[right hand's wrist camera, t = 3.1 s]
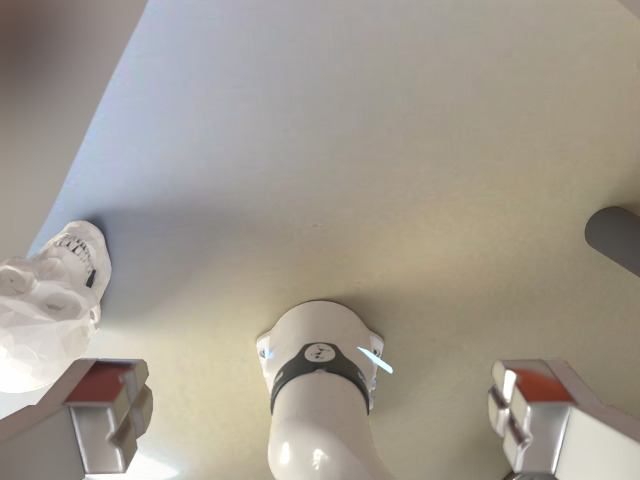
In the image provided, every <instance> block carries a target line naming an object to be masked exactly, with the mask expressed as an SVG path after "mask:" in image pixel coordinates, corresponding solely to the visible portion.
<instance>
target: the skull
mask: <svg viewBox="0 0 640 480" xmlns="http://www.w3.org/2000/svg"><path fill="white" fill-rule="evenodd" d="M74 238H75V239H74ZM78 240H79V241H80V242H78V243H77V241H78ZM70 241H71V243H70V244H69V247H68V246H67V244H68V243H69V242H70ZM82 243H83V245H82V247H81V246H80V245H81V244H82ZM76 246H79V247H77V249H76V250H75V252H74V253H73V252H72V250H73V249H74V248H75V247H76ZM84 246H85V249H84V251H82V250H83V247H84ZM81 251H82V252H81ZM80 252H81V253H80ZM79 253H80V254H79ZM86 253H87V254H86ZM76 254H77V255H78V256H77V255H76ZM83 261H84V262H83ZM93 269H95V270H96V273H95V276H94V279H93V284H92V287H91V288H89V287H87V286H86V283H87V280H88V277H90V275H91V272H92V271H93ZM111 270H112V268H111V261H110V258H109V255H108V252H107V249H106V244H105V239H104V236H103V234H102V233H101V231H100V230H99V229H98V228H97V227H96V226H94V225H93V224H91V223H89V222H86V221H81V220H78V221H71V222H70V223H68V224H67V225H66V227H65V228H64V229H63V230H62V231H61V232H60V233H59V234H57V235H56V236H54V237H53V238H52V239H51V240H50V241H49V242H48V243H47V244H46V245H45V246H44V247H43V248H42V249H41V250H40V251H39V252H38V253H37V254H35V255H34V256H33V257H31V258H30V259H28V260H26V259H23V258H21V257H18V256H15V257H12V258H10V259H8V260H6V261H3V262H1V263H0V390H1V391H4V392H11V393H19V392H26V391H32V390H36V389H39V388H42V387H44V386H47V385H49V384H50V383H52V382H54V381H55V380H57V379H58V378H60V376H61V375H62V374H63V373H64V372H65V371H66V370H67V368H68V367H69V366H70V365H71V364H72V363H73V362H74V360H77V359H80V358H81V357H82V355H83V354H84V352H85V350H86V348H87V345H88V343H89V340H90V339H91V337H92V336H93V335H94V334H95V333H96V332H97V331H98V330H99V329H100V322H101V310H100V300H101V298H102V295H103V293H104V291H105V289H106V287H107V285H108V282H109V280H110V276H111Z"/></svg>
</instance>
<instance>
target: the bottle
mask: <svg viewBox="0 0 640 480" xmlns="http://www.w3.org/2000/svg"><path fill="white" fill-rule="evenodd" d="M585 238H586V240H587V242H588V244H589V245H590V246H591V247H593V248H594V249H596V250H598V251H599V252H601V253H602V254H604V255H605V256H607V257H609V258H610V259H612V260H613V261H615V262H616V263H618V264H619V265H621V266H623V267H624V268H626V269H627V270H629V271H630V272H632V273H634V274H635V275H637V276H638V277H640V217H639V216H637V215H635V214H633V213H630V212H628V211H626V210H624V209H621V208H618V207H609V208H605V209H602V210H600V211H598V212H597V213H596V214H594V215H593V216H592V217H591V218H590V220H589V221H588V223H587V225H586V228H585Z"/></svg>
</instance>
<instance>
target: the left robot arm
mask: <svg viewBox="0 0 640 480" xmlns="http://www.w3.org/2000/svg"><path fill="white" fill-rule="evenodd" d="M504 480H558V479H557V478H556V477H555V474H524V473H514V471H512V472H511V473H510V474H509V475H508V476H507V477H506V478H505V479H504Z"/></svg>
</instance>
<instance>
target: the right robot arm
mask: <svg viewBox="0 0 640 480" xmlns="http://www.w3.org/2000/svg"><path fill="white" fill-rule="evenodd" d="M256 348H257V352H258V355H259V359H260V362H261V366H262V369H263V372H264V376H265V379H266V383H267V386H268V390H269V393H270V397H271V398H270V401H271V414H272V423H271V430H270V438H269V445H268V461H269V465H270V469H271V471H272V473H273V475H274V477H275V479H276V480H397V479H396V478H395V476H394V475H393V474H392V473H391V472H390V471H389V470H388V468H387V467H386V466H385V465H384V463H383V462H382V460H381V459H380V457H379V455H378V453H377V451H376V449H375V446H374V443H373V439H372V435H371V431H370V426H369V421H368V415H369V410H372V409H373V406H374V394H372V393H371V390H375V389H376V380H374V379H375V376H376V373H377V369H378V366H379V365H380V366H381V367H383V368H384V369H386V370H387V371H388V372H390V373H392V368H391V367H390V366H388V365H387V364H386V363H384V362H383V361H381V360H380V359H381V355H382V352H383V348H384V341H383V339H382V338H381V337H380V336H379V335H377V334H376V333H374V332H372V331H370V330H369V329H368V328H367V327H366V326H365V325H364V323H363V322H362V320H361V319H360V318H359V317H358V316H357V315H356V314H355V313H354V312H353V311H351V310H350V309H348V308H347V307H345V306H343V305H340V304H337V303H334V302H329V301H311V302H306V303H303V304H300V305H297V306H295V307H293V308H292V309H290V310H289V311H287V312H286V313H285V314H284V315H283V316H282V317H281V318H280V319H279V320H278V322H277V323H276V325H275V326H274V327H273V328H272V329H271V330H270V331H268V332H266V333H264V334H263V335H261V336H260V337H259V338H258V339H257V341H256ZM264 350H265V351H264ZM374 350H376V351H375V352H374ZM148 376H149V372H148V367H147V363H146V362H145V361H144V360H143V359H98V358H80V359H77V360H74V362H73V363H72V364H71V365H70V366H69V367H68V368H67V370H66V371H65V372H64V373H63V374H62V375H61V376H60V378H59V379H58V380H57V381H56V382H55V383H54V385H53V386H52V387H51V388H50V389H49V390H48V391H47V393H46V394H45V395H44V396H43V397H42V398H41V400H40V401H39V402H38V403H37V404H36V405H28V406H26V407H24V408H22V409H20V410H18V411H16V412H15V413H13V414H11V415H9V416H7V417H5V418H3V419H1V420H0V480H82V479H83V478H84V477H85V474H115V473H126V471H127V469H128V467H129V465H130V463H131V461H132V459H133V457H134V455H135V453H136V451H137V449H138V448H137V442H136V439H137V438H139V437H140V436H141V435H143V434H144V433H145V432H146V430H147V428H148V426H149V423H150V420H151V415H152V411H153V397H152V390H151V389H150V388H149V387H148V386H147V385H146V384H145V381H146V379H147V377H148ZM491 376H492V377H493V379H494V381H495V384H494V385H493V386H492V387H491V388H490V389H489V390H488V398H487V409H488V416H489V420H490V423H491V426H492V428H493V430H494V432H495V433H496V434H497V435H499V436H500V437H501V438H503V439H504V442H503V448H502V449H503V451H504V453H505V455H506V457H507V459H508V461H509V463H510V465H511V467H512V469H513V471H514V473H524V474H555V477H556V478H557V479H558V480H640V420H639V419H637V418H635V417H633V416H631V415H629V414H627V413H625V412H623V411H622V410H620V409H618V408H616V407H614V406H612V405H604V404H603V403H602V402H601V401H600V400H599V398H598V397H597V396H596V395H595V394H594V393H593V392H592V390H591V389H590V388H589V387H588V386H587V385H586V383H585V382H584V381H583V380H582V379H581V378H580V377H579V375H578V374H577V373H576V372H575V371H574V370H573V368H572V367H571V366H570V365H569V364H568V363H567V362H566V361H565V360H563V359H561V358H550V359H532V360H495V362H494V364H493V366H492V372H491Z"/></svg>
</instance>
